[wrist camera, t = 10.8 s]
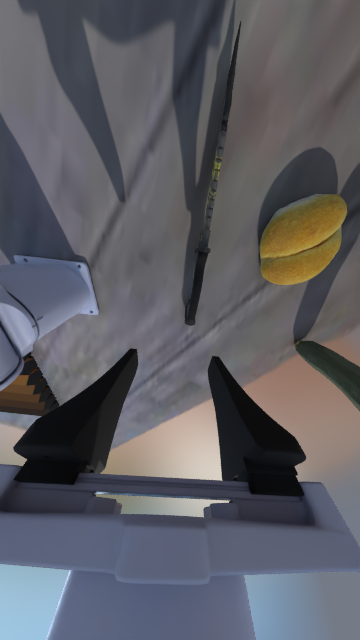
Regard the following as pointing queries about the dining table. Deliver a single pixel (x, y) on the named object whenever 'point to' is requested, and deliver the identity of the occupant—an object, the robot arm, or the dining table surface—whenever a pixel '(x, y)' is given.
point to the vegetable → (333, 368)
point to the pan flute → (28, 392)
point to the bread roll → (302, 239)
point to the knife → (211, 196)
